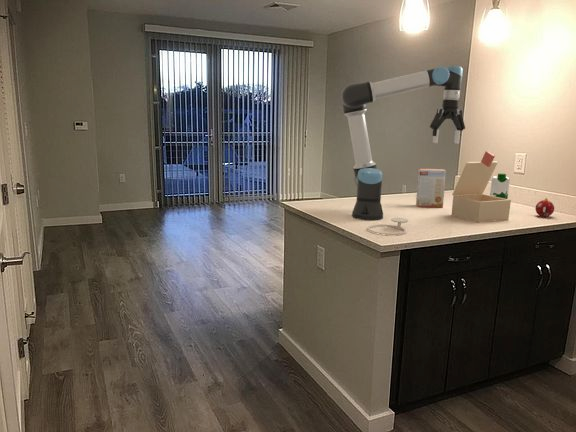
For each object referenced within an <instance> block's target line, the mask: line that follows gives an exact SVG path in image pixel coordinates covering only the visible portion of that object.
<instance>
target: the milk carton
mask: <svg viewBox="0 0 576 432" xmlns="http://www.w3.org/2000/svg"><path fill="white" fill-rule="evenodd" d="M491 177H492V178H491V184H490V191H489V195H490V196H495V197H499V198H504V199H509V190H510V189H509V188H510V178H509V177H508V176H507V174H506V173H497V176H493V175H492V176H491Z"/></svg>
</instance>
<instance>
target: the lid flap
mask: <svg viewBox="0 0 576 432" xmlns="http://www.w3.org/2000/svg"><path fill="white" fill-rule="evenodd" d="M495 157H496V155H495V154H493V153H492V152H491V151H489V150H486V151H485V152H484V154H483V157H482V158H481V161H466V163H465V165H464V167H463V170H462V172H461V174H460V176H459V179H458V181H457V183H456V186H455V187H454V190H453V192H452V194H451V195H452V196H458V195H474V194H484V192H485V190H486V189H487V185H488V183H489V181H490V180H491V179H492V178H491V177H493V173H494V172H495V170H496V168H497V165H498V163H499V162H498V161H494V159H495Z"/></svg>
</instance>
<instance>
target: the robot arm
mask: <svg viewBox="0 0 576 432" xmlns="http://www.w3.org/2000/svg"><path fill="white" fill-rule="evenodd" d="M462 79H463V68H462V66H460V65H459V66H457V65H453V66H452V65H451V66H450V65H448V66H447V67H444V66H438V67H435V68H431V69H430V68H429V69H422V70H421V71H417V72H414V73H409V74H406V75H401V76H396V77H392V78H388V79H384V80H380V81H376V82H375V81H374V82H371V81H365V82H357V83H356V82H355V83H350V84H348V85H346V86H345V87H344V88H343V89H342V91H341V93H340V102H341V104H342V105H341V106H342V110H343V111H342V112H343V114H344V115H343V116H346V117H347V120H348V121H347V122H348V126H349V134H350V138H351V145H352V152H353V157H354V162H355V164H354V166H353V167H352V169H353V175H354V183H355V186H356V200H355V204H354V206H353V209H352V213H351V217H352V216H353V217H352V218H354V217H355V219H357V218H358V219H359V220H363V219H364V220H365V221H379V220H382V219H384V210H383V208H382V203H381V199H382V184H383V182H382V181H383V177H384V176H383V171H382V170H380V169H377V163H376V162H375V161H373V157H372V151H371V145H370V140H369V139H370V138H369V133H368V128H367V127H368V125H367V120H366V112H367V110H368V107H367V104H371V103H374V102H375V101H376V100H377V99H382V98H386V97H391V96H395V95H400V94H403V93H409V92H412V91H417V90H421V89H425V88H429V87H444V90H443V99H442V105H441V106H442V108H437V110H436V113H435V115H434V117H433V120H432V121H431V123H430V125H429V128H430V129H431V130H432V143H434V144H438V141H439V134H440V129H439V128H440V127H441V125H442V124H443V123H444V121H446V120H447V119H448V120H451V121H452V123H453V124H454V126H455V128H456V130H455V132H454V139H453V141H454V142H453V143H454V144H456V145H457V144H460V139H461V136H462V131H464V130H466V125H465V121H464V118H463V110H462V109H458V108H459V102H460V101H459V99H460V95H461V87H462Z"/></svg>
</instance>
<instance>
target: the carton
mask: <svg viewBox="0 0 576 432" xmlns="http://www.w3.org/2000/svg"><path fill="white" fill-rule="evenodd" d="M452 196H453V195H452ZM511 201H512V200H511V199H509V198H507V199H504V198H499V197H495V196H490V194H485V193H483V194H472V195H456V196H453V197H452V204H451V206H452V207H451V216H453V217H458V218H461V219H463V220H467V221H471V222H475V223H478V224H479V223H487V222H499V221H509V218H510V209H511Z"/></svg>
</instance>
